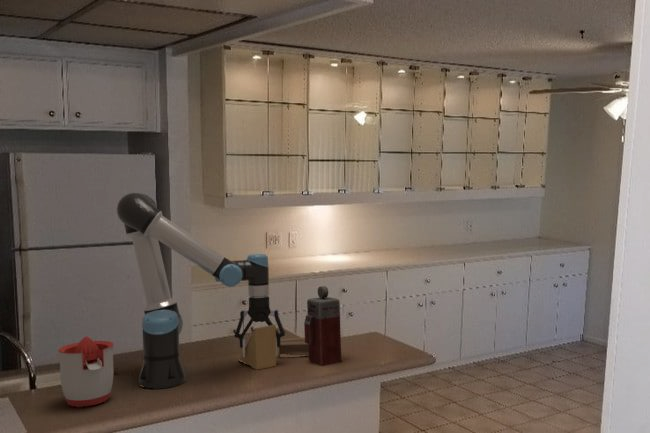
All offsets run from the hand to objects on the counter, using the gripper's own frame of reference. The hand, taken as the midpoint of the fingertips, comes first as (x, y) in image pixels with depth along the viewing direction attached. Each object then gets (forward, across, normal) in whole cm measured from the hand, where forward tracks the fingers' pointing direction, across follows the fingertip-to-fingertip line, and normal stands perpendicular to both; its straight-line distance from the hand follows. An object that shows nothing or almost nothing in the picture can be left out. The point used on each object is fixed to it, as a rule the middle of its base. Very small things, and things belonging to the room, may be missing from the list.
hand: (260, 355), depth 218 cm
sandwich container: (+3, +2, -2) cm, 4 cm away
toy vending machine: (+3, -23, -2) cm, 23 cm away
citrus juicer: (+4, +48, +38) cm, 61 cm away
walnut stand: (+3, -15, -15) cm, 22 cm away
